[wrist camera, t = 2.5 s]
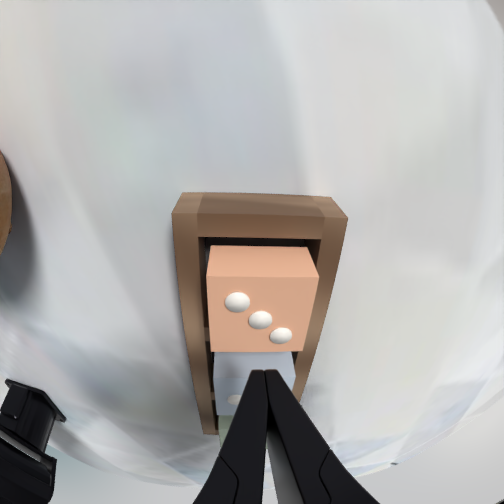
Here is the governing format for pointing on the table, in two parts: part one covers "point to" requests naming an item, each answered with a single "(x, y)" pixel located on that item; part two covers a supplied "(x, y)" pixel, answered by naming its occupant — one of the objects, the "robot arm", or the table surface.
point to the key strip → (254, 226)
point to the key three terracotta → (260, 298)
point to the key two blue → (245, 374)
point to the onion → (5, 203)
